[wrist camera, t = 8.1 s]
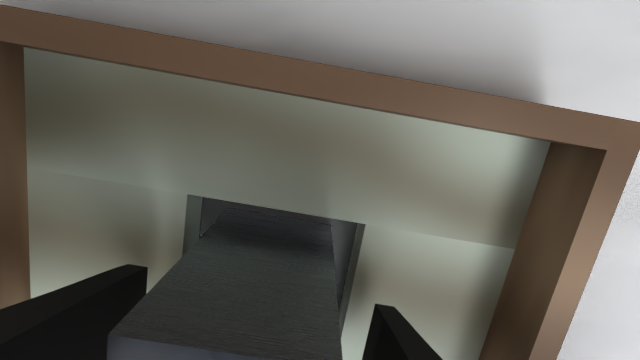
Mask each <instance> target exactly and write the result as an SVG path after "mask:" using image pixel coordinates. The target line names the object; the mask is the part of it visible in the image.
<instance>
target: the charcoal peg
mask: <svg viewBox="0 0 640 360" xmlns="http://www.w3.org/2000/svg"><path fill="white" fill-rule="evenodd" d="M107 360H343V359H342V347H341V335H340V324H339V312H338V300H337V288H336V277H335V265H334V253H333V242H332V230H331V225H328V224H322V223H316V222H310V221H304V220H298V219H292V218H286V217H280V216H274V215H268V214H262V213H256V212H250V211H244V210H238V209H232V208H228V209H227V210H226V211H225V212H224V213H223V214H222V215H221V216H220V217H219V218H218V220H217V221H216V222H215V223H214V224H213V225H212V226H211V227H210V228H209V229H208V230H207V231H206V232H205V233H204V234H203V235H202V236H201V237H200V238H199V239H198V240H197V242H196V243H195V244H194V245H193V246H192V247H191V248H190V249H189V250H188V251H187V252H186V253H185V254H184V255H183V256H182V257H181V258H180V259H179V260H178V261H177V262H176V264H175V265H174V266H173V267H172V268H171V269H170V270H169V271H168V272H167V273H166V274H165V275H164V276H163V277H162V278H161V279H160V280H159V281H158V282H157V283H156V285H155V286H154V287H153V288H152V289H151V290H150V291H149V292H148V293H147V294H146V295H145V296H144V297H143V298H142V299H141V300H140V301H139V302H138V303H137V304H136V305H135V307H134V308H133V309H132V310H131V311H130V312H129V313H128V314H127V315H126V316H125V317H124V318H123V319H122V320H121V321H120V322H119V323H118V324H117V325H116V326H115V327H114V329H113V330H112V331H111V332H110V333H109V334H108V336H107Z"/></svg>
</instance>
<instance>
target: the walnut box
mask: <svg viewBox="0 0 640 360" xmlns="http://www.w3.org/2000/svg"><path fill="white" fill-rule="evenodd" d="M639 150H640V122H636V121H630V120H625V119H619V118H614V117H608V116H603V115H598V114H592V113H587V112H581V111H576V110H570V109H565V108H560V107H554V106H549V105H543V104H538V103H532V102H527V101H522V100H516V99H511V98H505V97H500V96H494V95H489V94H484V93H478V92H473V91H467V90H462V89H456V88H451V87H446V86H440V85H435V84H429V83H424V82H418V81H413V80H407V79H402V78H397V77H391V76H386V75H380V74H375V73H369V72H364V71H359V70H353V69H348V68H342V67H337V66H331V65H326V64H321V63H315V62H310V61H304V60H299V59H293V58H288V57H283V56H277V55H272V54H266V53H261V52H255V51H250V50H245V49H239V48H234V47H228V46H223V45H217V44H212V43H207V42H201V41H196V40H190V39H185V38H179V37H174V36H169V35H163V34H158V33H152V32H147V31H141V30H136V29H130V28H125V27H120V26H114V25H109V24H103V23H98V22H92V21H87V20H82V19H76V18H71V17H65V16H60V15H54V14H49V13H44V12H38V11H33V10H27V9H22V8H16V7H11V6H6V5H0V309H3V308H5V307H8V306H11V305H14V304H17V303H20V302H23V301H26V300H29V299H32V298H34V297H37V296H40V295H43V294H46V293H49V292H52V291H54V290H57V289H60V288H62V287H65V286H68V285H70V284H73V283H76V282H78V281H81V280H84V279H86V278H89V277H92V276H94V275H97V274H100V273H102V272H105V271H108V270H111V269H113V268H116V267H119V266H123V265H126V264H132V265H138V266H144V267H148V274H147V290H146V294H147V293H148V292H149V291H150V290H151V289H152V288H153V287H154V286H155V285H156V283H157V282H158V281H159V280H160V279H161V278H162V277H163V276H164V275H165V274H166V273H167V272H168V271H169V270H170V269H171V268H172V267H173V266H174V265H175V264H176V262H177V261H178V260H179V259H180V258H181V257H182V256H183V255H184V254H185V253H186V252H187V251H188V250H189V249H190V248H191V247H192V246H193V245H194V244H195V243H196V242H197V240H198V239H199V230H200V220H201V210H202V199H203V197H206V198H212V199H218V200H224V201H230V202H236V203H242V204H248V205H254V206H260V207H266V208H272V209H278V210H284V211H290V212H296V213H302V214H308V215H314V216H320V217H326V218H332V219H337V220H343V221H349V222H355V223H358V224H357V229H356V234H355V238H354V243H353V248H352V253H351V257H350V262H349V267H348V271H347V276H346V281H345V286H344V290H343V295H342V300H341V304H340V309H339V324H340V335H341V347H342V359H343V360H362V357H363V352H364V348H365V344H366V340H367V336H368V331H369V327H370V323H371V319H372V315H373V310H374V306H375V304H381V305H388V306H394V307H395V308H396V309H397V310H398V311H399V312H400V313H401V314H402V315H403V317H404V318H405V319H406V320H407V321H408V322H409V323H410V324H411V325H412V327H413V328H414V329H415V330H416V331H417V332H418V333H419V334H420V336H421V337H422V338H423V339H424V340H425V341H426V342H427V343H428V344H429V345H430V346H431V348H432V349H433V350H434V351H435V352H436V353H437V354H438V355H439V356H440V357H441V358H442V359H443V360H556V359H557V356H558V354H559V351H560V349H561V346H562V344H563V341H564V339H565V336H566V334H567V331H568V329H569V326H570V324H571V321H572V318H573V316H574V313H575V311H576V308H577V306H578V303H579V301H580V298H581V296H582V293H583V291H584V288H585V286H586V283H587V281H588V278H589V276H590V273H591V271H592V268H593V266H594V263H595V261H596V258H597V255H598V253H599V250H600V248H601V245H602V243H603V240H604V238H605V235H606V233H607V230H608V228H609V225H610V223H611V220H612V218H613V215H614V213H615V210H616V208H617V205H618V203H619V200H620V198H621V195H622V192H623V190H624V187H625V185H626V182H627V180H628V177H629V175H630V172H631V170H632V167H633V165H634V162H635V160H636V157H637V155H638V152H639Z"/></svg>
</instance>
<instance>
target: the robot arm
mask: <svg viewBox="0 0 640 360" xmlns="http://www.w3.org/2000/svg"><path fill="white" fill-rule="evenodd" d="M147 274H148V267H144V266H138V265H132V264H126V265H123V266H119V267H116V268H113V269H111V270H108V271H105V272H102V273H100V274H97V275H94V276H92V277H89V278H86V279H84V280H81V281H78V282H76V283H73V284H70V285H68V286H65V287H62V288H60V289H57V290H54V291H52V292H49V293H46V294H43V295H40V296H37V297H34V298H32V299H29V300H26V301H23V302H20V303H17V304H14V305H11V306H8V307H5V308H3V309H0V360H107V336H108V334H109V333H110V332H111V331H112V330H113V329H114V327H115V326H116V325H117V324H118V323H119V322H120V321H121V320H122V319H123V318H124V317H125V316H126V315H127V314H128V313H129V312H130V311H131V310H132V309H133V308H134V307H135V305H136V304H137V303H138V302H139V301H140V300H141V299H142V298H143V297H144V296H145V295H146V290H147ZM362 360H443V359H442V358H441V357H440V356H439V355H438V354H437V353H436V352H435V351H434V350H433V349H432V348H431V346H430V345H429V344H428V343H427V342H426V341H425V340H424V339H423V338H422V337H421V336H420V334H419V333H418V332H417V331H416V330H415V329H414V328H413V327H412V325H411V324H410V323H409V322H408V321H407V320H406V319H405V318H404V317H403V315H402V314H401V313H400V312H399V311H398V310H397V309H396V308H395V307H394V306H388V305H381V304H375V306H374V310H373V315H372V319H371V323H370V327H369V331H368V336H367V340H366V344H365V348H364V352H363V357H362Z"/></svg>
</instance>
